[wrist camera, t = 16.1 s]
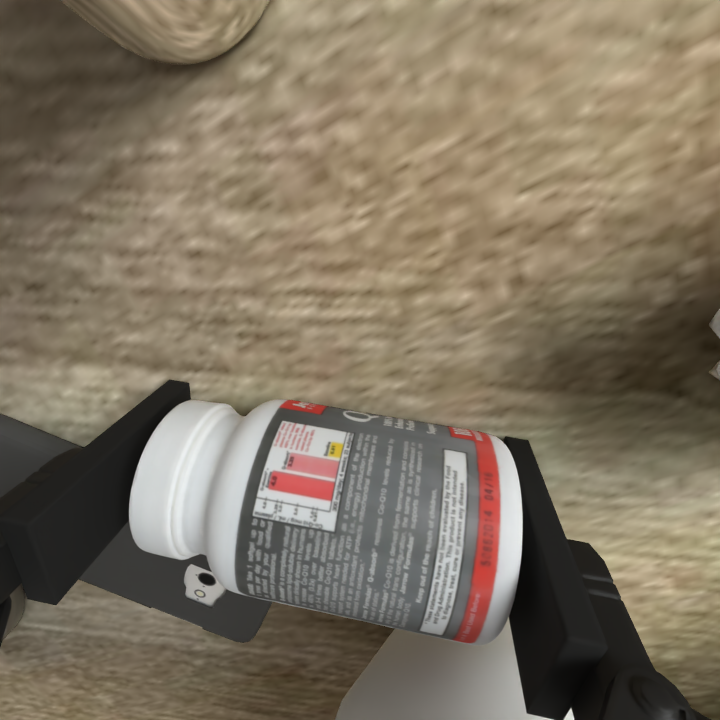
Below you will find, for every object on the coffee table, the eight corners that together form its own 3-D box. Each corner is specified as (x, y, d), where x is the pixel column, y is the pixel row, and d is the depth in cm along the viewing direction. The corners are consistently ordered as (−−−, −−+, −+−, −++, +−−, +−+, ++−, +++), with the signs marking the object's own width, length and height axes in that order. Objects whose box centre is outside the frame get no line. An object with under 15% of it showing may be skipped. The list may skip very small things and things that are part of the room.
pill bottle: (521, 400, 11) (187, 344, 12) (542, 644, 8) (70, 542, 9) (470, 479, 16) (229, 434, 17) (468, 655, 12) (163, 588, 13)
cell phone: (-38, 537, 19) (-17, 521, 20) (248, 652, 20) (256, 631, 21) (-50, 415, 16) (-25, 401, 17) (296, 556, 16) (302, 537, 17)
